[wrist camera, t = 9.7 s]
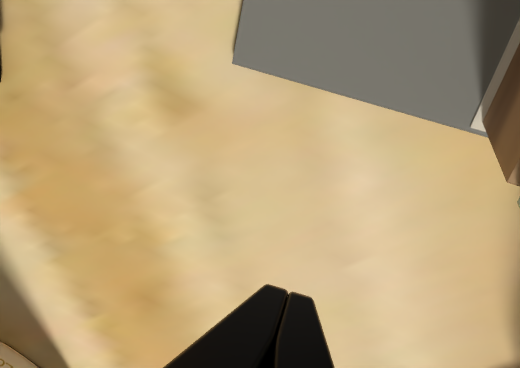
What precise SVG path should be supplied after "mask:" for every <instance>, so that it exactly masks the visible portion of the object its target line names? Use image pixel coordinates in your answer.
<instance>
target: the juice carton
mask: <svg viewBox="0 0 520 368" xmlns="http://www.w3.org/2000/svg"><path fill="white" fill-rule="evenodd" d="M0 368H39V367H37V366H36V365H35V364H33V363H32V362H31V361H29V360H28V359H26V358H25V357H24V356H22V355H21V354H19V353H18V352H16V351H15V350H14V349H12V348H11V347H9V346H8V345H6V344H4V343H2V342H0Z"/></svg>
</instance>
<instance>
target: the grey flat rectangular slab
mask: <svg viewBox="0 0 520 368" xmlns="http://www.w3.org/2000/svg"><path fill="white" fill-rule="evenodd" d="M519 43H520V0H243V6H242V11H241V17H240V22H239V28H238V33H237V39H236V44H235V50H234V55H233V61H232V64H235V65H239V66H242V67H246V68H249V69H252V70H256V71H259V72H263V73H266V74H270V75H273V76H277V77H280V78H284V79H287V80H291V81H294V82H298V83H301V84H304V85H308V86H311V87H315V88H318V89H322V90H325V91H329V92H332V93H336V94H339V95H343V96H346V97H350V98H353V99H356V100H360V101H363V102H367V103H370V104H374V105H377V106H381V107H384V108H388V109H391V110H395V111H398V112H402V113H405V114H408V115H412V116H415V117H419V118H422V119H426V120H429V121H433V122H436V123H440V124H443V125H447V126H450V127H454V128H457V129H460V130H464V131H467V132H471V133H474V134H478V135H481V136H485V137H488V135H487V133H486V130H485V128H484V125H483V123H482V122H483V120H484V118H485V116H486V113H487V111H488V109H489V107H490V105H491V103H492V101H493V98H494V96H495V94H496V92H497V90H498V88H499V86H500V83H501V81H502V79H503V77H504V75H505V73H506V71H507V68H508V66H509V64H510V62H511V60H512V58H513V56H514V54H515V51H516V49H517V47H518V45H519Z"/></svg>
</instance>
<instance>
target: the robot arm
mask: <svg viewBox="0 0 520 368" xmlns="http://www.w3.org/2000/svg"><path fill="white" fill-rule="evenodd" d="M0 82H1V70H0ZM287 297H288V298H287ZM163 368H334V364H333V361H332V358H331V355H330V352H329V348H328V345H327V342H326V339H325V336H324V332H323V329H322V326H321V323H320V320H319V316H318V313H317V310H316V307H315V304H314V301H313V299H312V298H311V297H309V296H306V295H302V294H299V293H296V292H290V293H289V295H288V291H287V290H285V289H283V288H279V287H276V286H273V285H269V284H267V285H264V286H263V287H262V288H260V289H259V290H258V291H257V292H255V293H254V294H253V295H252V296H251V297H249V298H248V299H247V300H246V301H244V302H243V303H242V304H241V305H239V306H238V307H237V308H236V309H235V310H233V311H232V312H231V313H230V314H228V315H227V316H226V317H225V318H224V319H222V320H221V321H220V322H219V323H217V324H216V325H215V326H214V327H212V328H211V329H210V330H209V331H208V332H206V333H205V334H204V335H203V336H201V337H200V338H199V339H198V340H196V341H195V342H194V343H193V344H192V345H190V346H189V347H188V348H187V349H185V350H184V351H183V352H182V353H181V354H179V355H178V356H177V357H176V358H174V359H173V360H172V361H171V362H169V363H168V364H167V365H166V366H165V367H163Z"/></svg>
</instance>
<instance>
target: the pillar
mask: <svg viewBox="0 0 520 368" xmlns="http://www.w3.org/2000/svg"><path fill="white" fill-rule="evenodd" d="M482 123H483V125H484V128H485V130H486V133H487V135H488V138H489V140H490V142H491V145H492V147H493V150H494V152H495V155H496V157H497V159H498V162H499V164H500V167H501V169H502V172H503V174H504V176H505V179H506V181H507V183H510V184H514V185H517V186H520V43H519V45H518V47H517V49H516V51H515V54H514V56H513V58H512V60H511V62H510V64H509V66H508V68H507V71H506V73H505V75H504V77H503V79H502V81H501V83H500V86H499V88H498V90H497V92H496V94H495V96H494V98H493V101H492V103H491V105H490V107H489V109H488V111H487V113H486V116H485V118H484V120H483V122H482Z"/></svg>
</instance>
